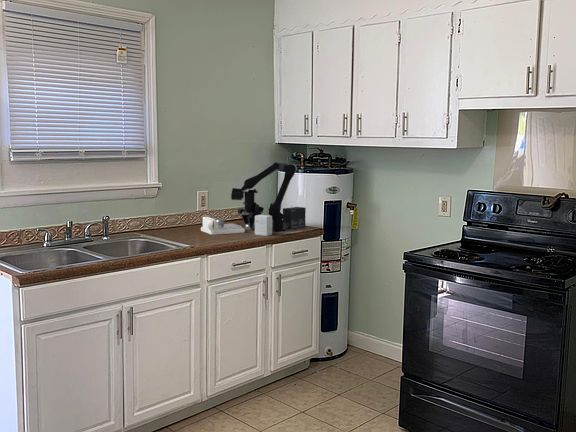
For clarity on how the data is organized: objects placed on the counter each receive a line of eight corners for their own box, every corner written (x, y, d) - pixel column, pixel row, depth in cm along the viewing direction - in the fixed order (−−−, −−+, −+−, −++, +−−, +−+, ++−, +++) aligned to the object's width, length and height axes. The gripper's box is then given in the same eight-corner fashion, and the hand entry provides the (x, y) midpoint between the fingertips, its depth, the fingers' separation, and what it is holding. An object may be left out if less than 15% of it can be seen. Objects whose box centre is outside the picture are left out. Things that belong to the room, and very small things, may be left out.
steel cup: (255, 229, 345) (255, 224, 345) (247, 230, 343) (247, 225, 342) (251, 228, 349) (251, 223, 349) (243, 229, 347) (243, 223, 347)
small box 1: (272, 234, 330) (272, 215, 328) (266, 236, 325) (267, 216, 324) (260, 233, 334) (260, 214, 332) (254, 234, 329) (254, 215, 328)
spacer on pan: (225, 225, 338) (225, 220, 338) (217, 225, 336) (217, 220, 335) (221, 224, 342) (221, 218, 342) (213, 224, 340) (213, 219, 339)
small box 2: (297, 226, 363) (297, 206, 361) (305, 227, 358) (306, 207, 356) (281, 228, 353) (282, 208, 352) (290, 229, 348) (290, 209, 347)
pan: (242, 228, 336) (242, 226, 336) (222, 229, 330) (222, 227, 330) (232, 225, 346) (232, 223, 346) (213, 226, 340) (213, 224, 340)
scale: (244, 232, 335) (245, 218, 334) (209, 234, 324) (209, 220, 323) (233, 228, 348) (233, 214, 347) (198, 230, 337) (198, 216, 336)
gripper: (269, 201, 340) (269, 229, 342) (254, 198, 356) (254, 224, 358) (252, 202, 334) (251, 230, 336) (237, 199, 350) (237, 225, 352)
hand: (249, 227), depth 346 cm, fingers closed on steel cup, 5 cm apart
